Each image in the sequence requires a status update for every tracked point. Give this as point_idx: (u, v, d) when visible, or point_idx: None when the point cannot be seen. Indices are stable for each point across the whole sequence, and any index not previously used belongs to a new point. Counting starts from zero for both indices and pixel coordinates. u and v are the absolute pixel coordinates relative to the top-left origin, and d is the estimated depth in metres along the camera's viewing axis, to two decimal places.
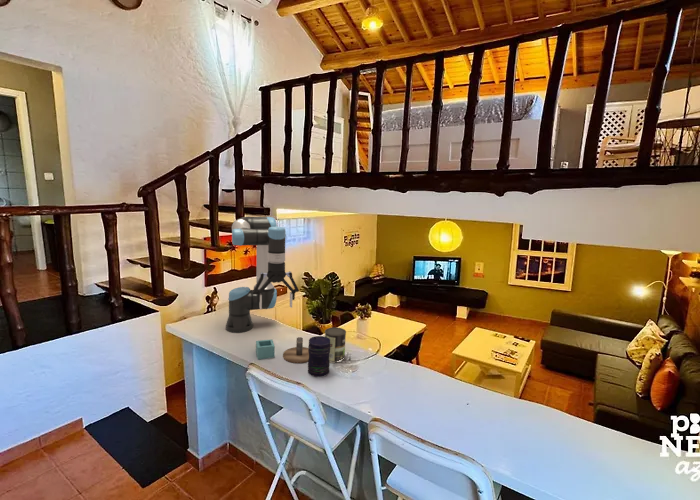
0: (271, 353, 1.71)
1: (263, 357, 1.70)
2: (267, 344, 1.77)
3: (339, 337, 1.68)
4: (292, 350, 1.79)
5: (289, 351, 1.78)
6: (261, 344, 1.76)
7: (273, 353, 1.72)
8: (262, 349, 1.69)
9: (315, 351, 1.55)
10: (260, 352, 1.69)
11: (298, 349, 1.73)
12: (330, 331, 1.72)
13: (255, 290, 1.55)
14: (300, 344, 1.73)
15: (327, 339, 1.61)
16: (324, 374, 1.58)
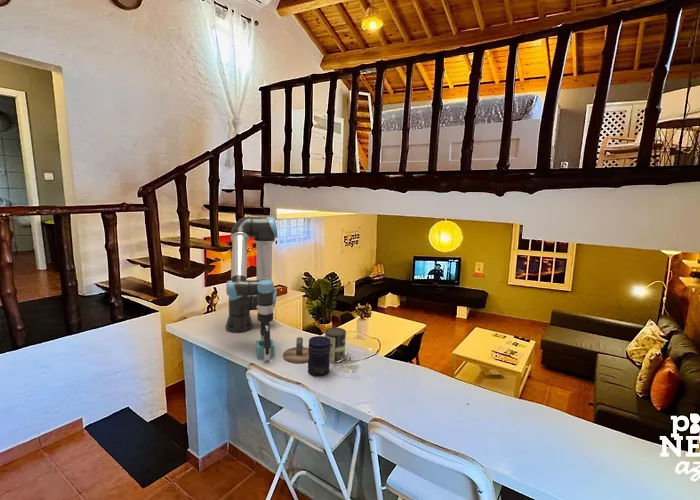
0: (271, 353, 1.71)
1: (263, 357, 1.70)
2: None
3: (339, 337, 1.68)
4: (292, 350, 1.79)
5: (289, 351, 1.78)
6: (261, 344, 1.76)
7: (273, 353, 1.72)
8: (262, 349, 1.69)
9: (315, 351, 1.55)
10: (260, 352, 1.69)
11: (298, 349, 1.73)
12: (330, 331, 1.72)
13: (260, 330, 1.81)
14: (300, 344, 1.73)
15: (327, 339, 1.61)
16: (324, 374, 1.58)
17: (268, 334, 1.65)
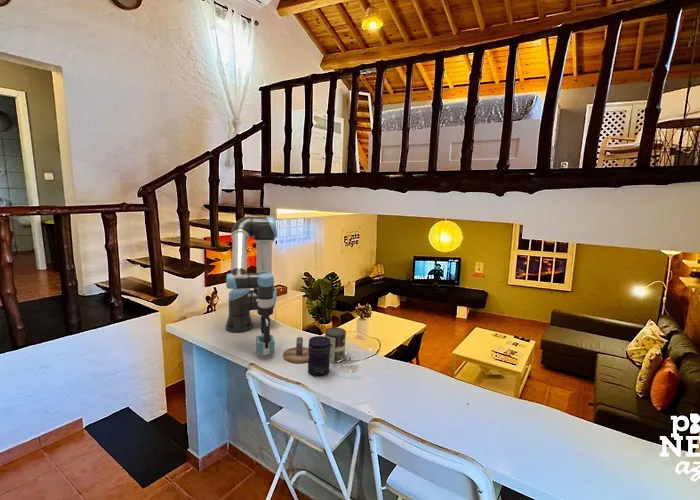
0: (271, 348, 1.71)
1: None
2: None
3: (339, 337, 1.68)
4: (292, 350, 1.79)
5: (289, 351, 1.78)
6: (261, 339, 1.76)
7: (273, 348, 1.72)
8: (262, 344, 1.69)
9: (315, 351, 1.55)
10: (260, 347, 1.69)
11: (298, 349, 1.73)
12: (330, 331, 1.72)
13: (261, 327, 1.79)
14: (300, 344, 1.73)
15: (327, 339, 1.61)
16: (324, 374, 1.58)
17: (268, 329, 1.66)
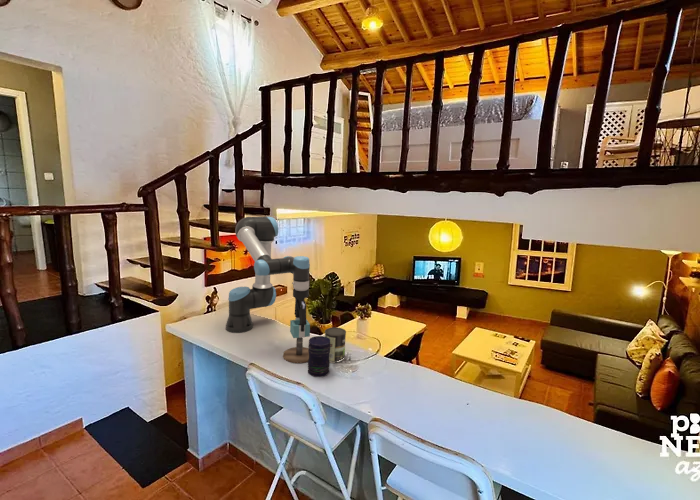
0: (306, 332, 1.70)
1: None
2: None
3: (339, 337, 1.68)
4: (292, 350, 1.79)
5: (289, 351, 1.78)
6: (295, 323, 1.75)
7: (308, 332, 1.71)
8: (298, 327, 1.68)
9: (315, 351, 1.55)
10: (296, 331, 1.68)
11: (298, 349, 1.73)
12: (330, 331, 1.72)
13: None
14: (300, 344, 1.73)
15: (327, 339, 1.61)
16: (324, 374, 1.58)
17: (304, 312, 1.65)
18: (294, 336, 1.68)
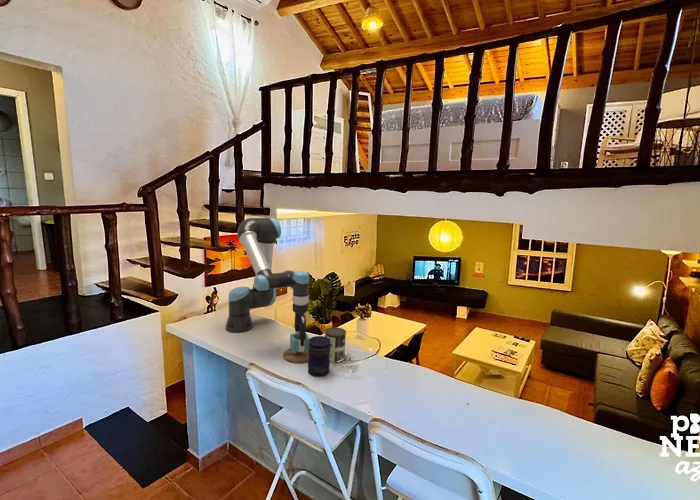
0: (306, 346, 1.71)
1: (298, 350, 1.70)
2: None
3: (339, 337, 1.68)
4: None
5: (289, 351, 1.78)
6: (295, 337, 1.76)
7: None
8: (297, 342, 1.70)
9: (315, 351, 1.55)
10: (296, 345, 1.69)
11: None
12: (330, 331, 1.72)
13: (294, 325, 1.79)
14: None
15: (327, 339, 1.61)
16: (324, 374, 1.58)
17: (304, 326, 1.66)
18: (294, 350, 1.70)
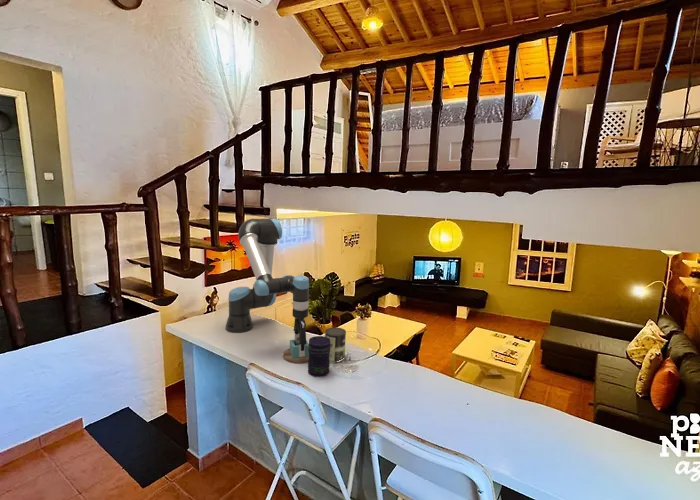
0: (306, 352, 1.72)
1: (298, 356, 1.71)
2: None
3: (339, 337, 1.68)
4: None
5: (289, 351, 1.78)
6: (295, 343, 1.77)
7: (308, 352, 1.72)
8: (297, 348, 1.70)
9: (315, 351, 1.55)
10: (295, 351, 1.70)
11: None
12: (330, 331, 1.72)
13: (294, 328, 1.80)
14: None
15: (327, 339, 1.61)
16: (324, 374, 1.58)
17: (304, 331, 1.66)
18: (293, 357, 1.70)
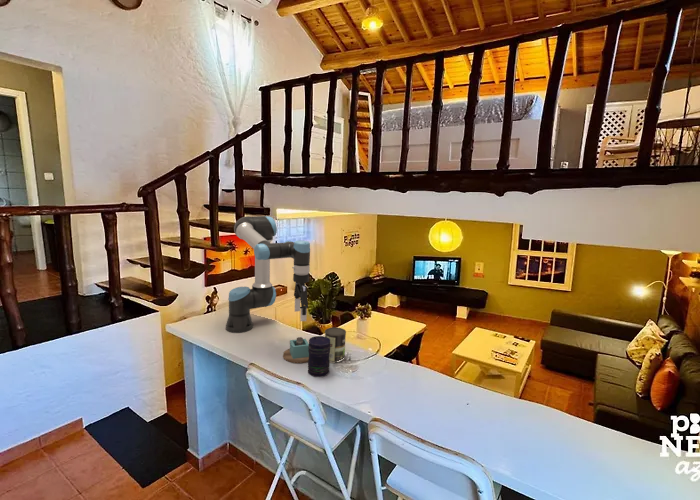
0: (306, 352, 1.72)
1: (298, 356, 1.71)
2: None
3: (339, 337, 1.68)
4: None
5: (289, 351, 1.78)
6: (295, 343, 1.77)
7: (308, 352, 1.72)
8: (297, 348, 1.70)
9: (315, 351, 1.55)
10: (295, 351, 1.70)
11: None
12: (330, 331, 1.72)
13: (294, 293, 1.78)
14: (300, 344, 1.73)
15: (327, 339, 1.61)
16: (324, 374, 1.58)
17: (305, 294, 1.63)
18: (293, 357, 1.70)
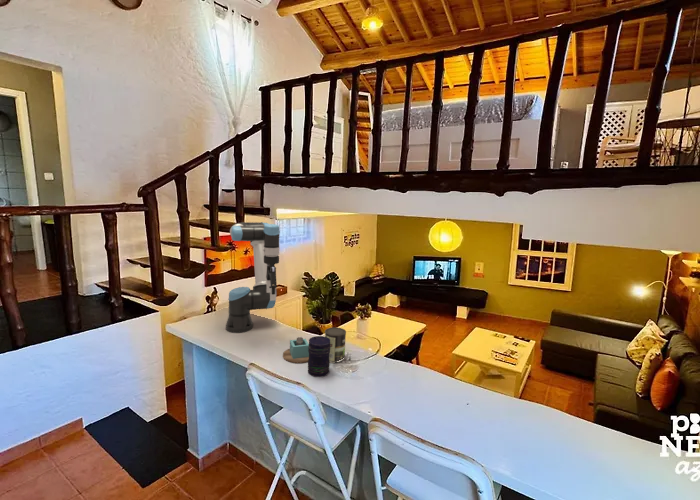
0: (306, 352, 1.72)
1: (298, 356, 1.71)
2: None
3: (339, 337, 1.68)
4: None
5: (289, 351, 1.78)
6: (295, 343, 1.77)
7: (308, 352, 1.72)
8: (297, 348, 1.70)
9: (315, 351, 1.55)
10: (295, 351, 1.70)
11: None
12: (330, 331, 1.72)
13: (266, 275, 1.87)
14: (300, 344, 1.73)
15: (327, 339, 1.61)
16: (324, 374, 1.58)
17: (274, 274, 1.72)
18: (293, 357, 1.70)
